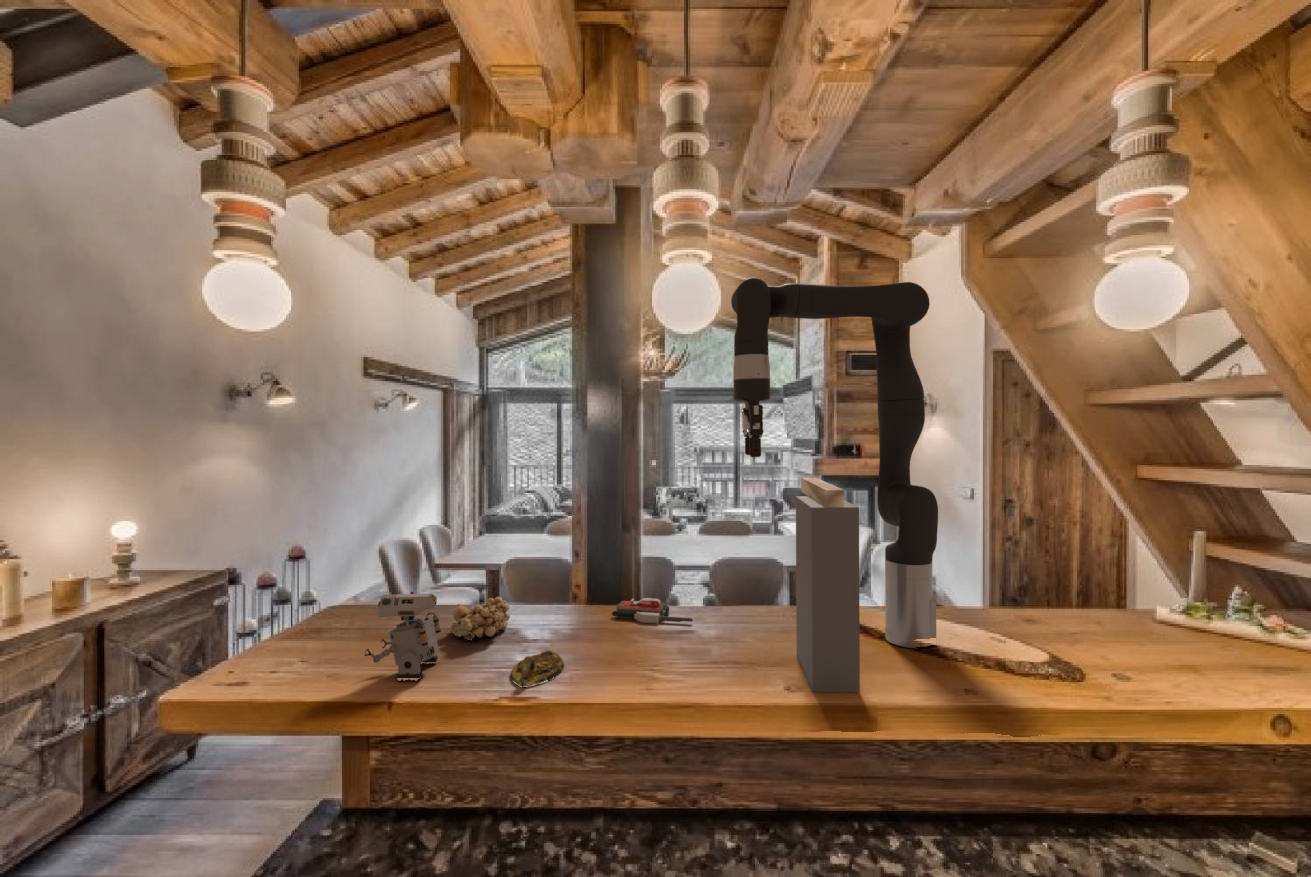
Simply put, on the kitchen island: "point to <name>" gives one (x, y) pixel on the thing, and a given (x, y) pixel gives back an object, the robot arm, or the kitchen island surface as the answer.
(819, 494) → the wooden bar
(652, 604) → the red black elongated piece
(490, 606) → the mineral formation
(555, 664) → the olive green oval lump
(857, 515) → the charcoal plinth
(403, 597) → the figurine
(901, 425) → the robot arm
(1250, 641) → the kitchen island surface
